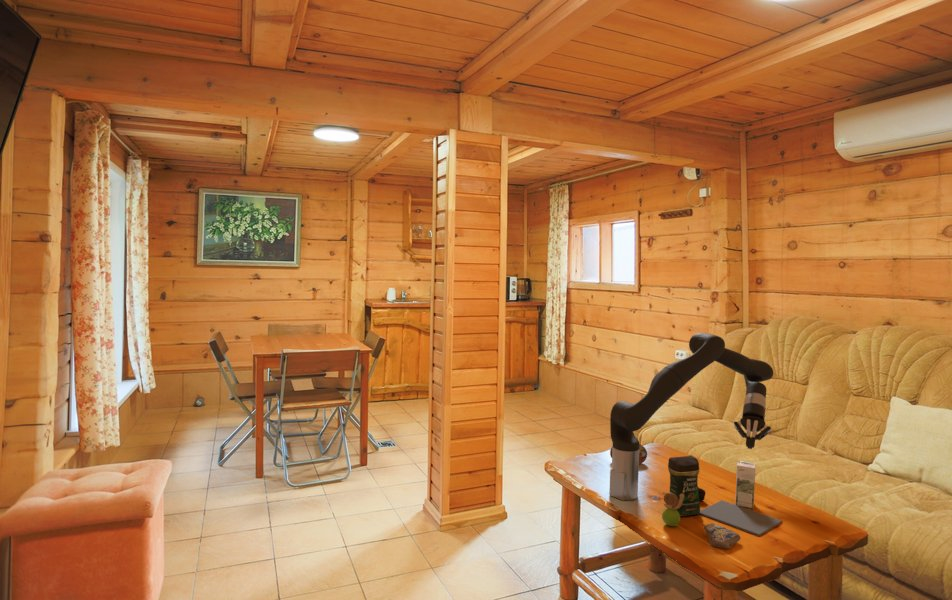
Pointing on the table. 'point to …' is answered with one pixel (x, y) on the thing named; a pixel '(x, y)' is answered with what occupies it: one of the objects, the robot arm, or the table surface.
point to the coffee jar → (685, 483)
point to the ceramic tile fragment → (721, 536)
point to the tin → (641, 454)
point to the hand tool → (701, 494)
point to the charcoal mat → (740, 517)
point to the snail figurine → (672, 509)
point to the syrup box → (745, 484)
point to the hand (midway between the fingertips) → (749, 447)
